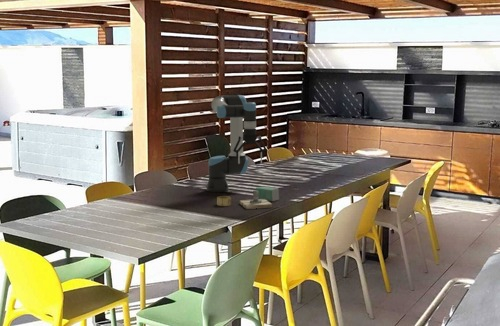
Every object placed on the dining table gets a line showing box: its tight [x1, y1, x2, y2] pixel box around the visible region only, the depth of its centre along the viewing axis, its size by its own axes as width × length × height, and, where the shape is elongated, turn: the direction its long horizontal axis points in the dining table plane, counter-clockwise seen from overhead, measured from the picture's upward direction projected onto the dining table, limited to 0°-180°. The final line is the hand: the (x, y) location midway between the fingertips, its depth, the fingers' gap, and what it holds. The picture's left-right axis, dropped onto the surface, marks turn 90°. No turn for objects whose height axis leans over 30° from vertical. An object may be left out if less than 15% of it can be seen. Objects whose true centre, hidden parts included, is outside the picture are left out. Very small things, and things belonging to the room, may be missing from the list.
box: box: [255, 186, 280, 202], centre depth 380 cm, size 7×14×8 cm, turn 52°
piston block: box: [239, 189, 273, 210], centre depth 361 cm, size 16×16×9 cm
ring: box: [216, 195, 232, 207], centre depth 365 cm, size 8×8×4 cm
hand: (250, 163), depth 363 cm, fingers open, 13 cm apart
